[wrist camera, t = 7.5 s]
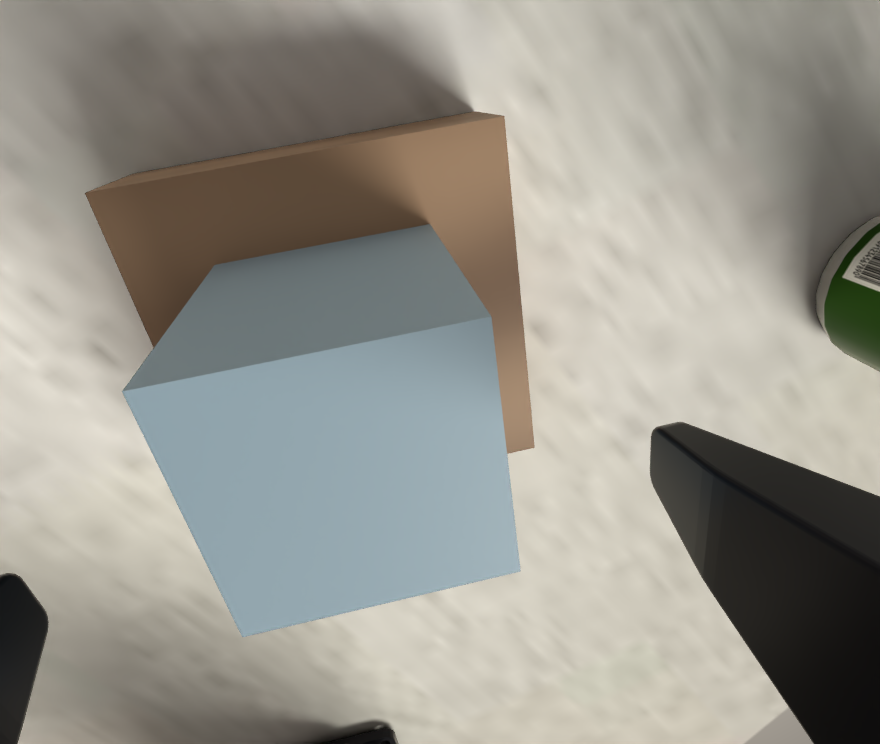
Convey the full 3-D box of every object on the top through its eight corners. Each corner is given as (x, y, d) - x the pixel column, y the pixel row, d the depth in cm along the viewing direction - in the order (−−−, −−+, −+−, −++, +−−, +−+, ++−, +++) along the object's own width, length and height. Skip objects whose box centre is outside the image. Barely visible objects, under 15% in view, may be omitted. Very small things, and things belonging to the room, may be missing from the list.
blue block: (458, 404, 15) (520, 571, 10) (277, 443, 15) (242, 637, 10) (430, 224, 13) (491, 316, 8) (214, 264, 13) (121, 391, 7)
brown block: (507, 397, 19) (534, 447, 16) (245, 455, 18) (229, 516, 16) (475, 111, 15) (504, 115, 12) (133, 173, 14) (84, 193, 11)
